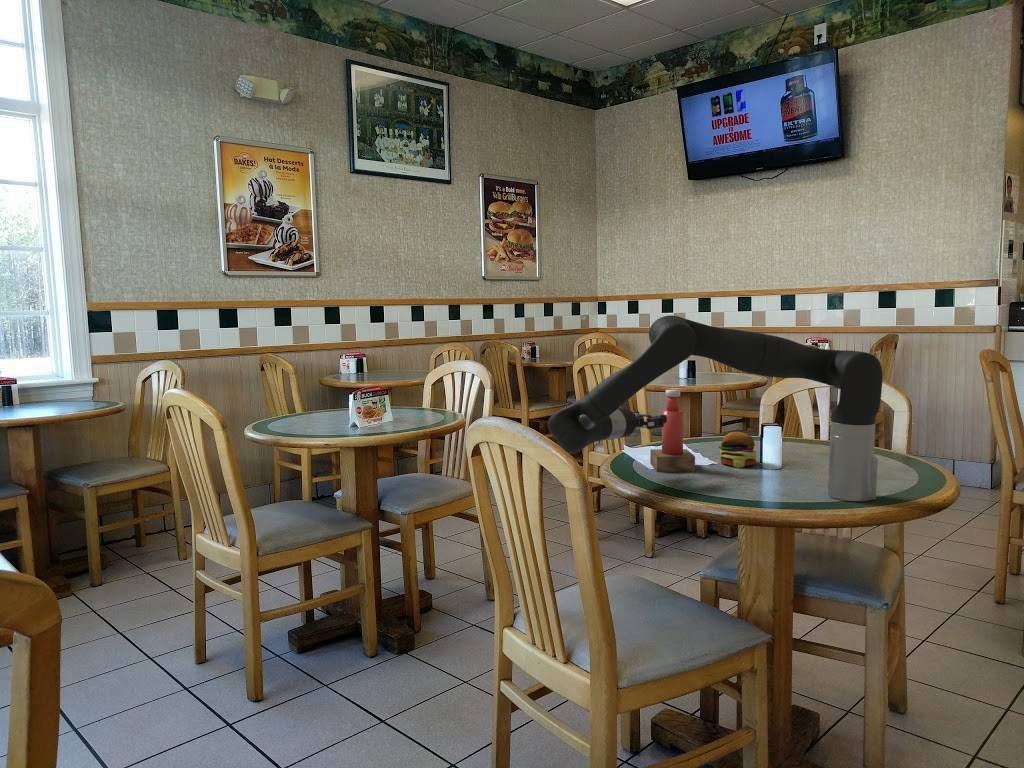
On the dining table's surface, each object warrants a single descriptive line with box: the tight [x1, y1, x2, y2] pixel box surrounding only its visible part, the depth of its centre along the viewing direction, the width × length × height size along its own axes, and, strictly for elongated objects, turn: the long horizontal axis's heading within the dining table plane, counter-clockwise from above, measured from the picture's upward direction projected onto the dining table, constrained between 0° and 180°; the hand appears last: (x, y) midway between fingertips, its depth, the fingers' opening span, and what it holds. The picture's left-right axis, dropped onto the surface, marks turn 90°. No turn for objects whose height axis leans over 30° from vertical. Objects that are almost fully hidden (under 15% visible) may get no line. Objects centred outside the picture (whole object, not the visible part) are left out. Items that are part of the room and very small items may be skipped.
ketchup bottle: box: [661, 389, 685, 455], centre depth 203 cm, size 6×6×17 cm
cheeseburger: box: [718, 431, 757, 469], centre depth 208 cm, size 10×11×10 cm
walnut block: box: [649, 448, 696, 473], centre depth 204 cm, size 10×10×4 cm
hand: (651, 417), depth 196 cm, fingers open, 8 cm apart
